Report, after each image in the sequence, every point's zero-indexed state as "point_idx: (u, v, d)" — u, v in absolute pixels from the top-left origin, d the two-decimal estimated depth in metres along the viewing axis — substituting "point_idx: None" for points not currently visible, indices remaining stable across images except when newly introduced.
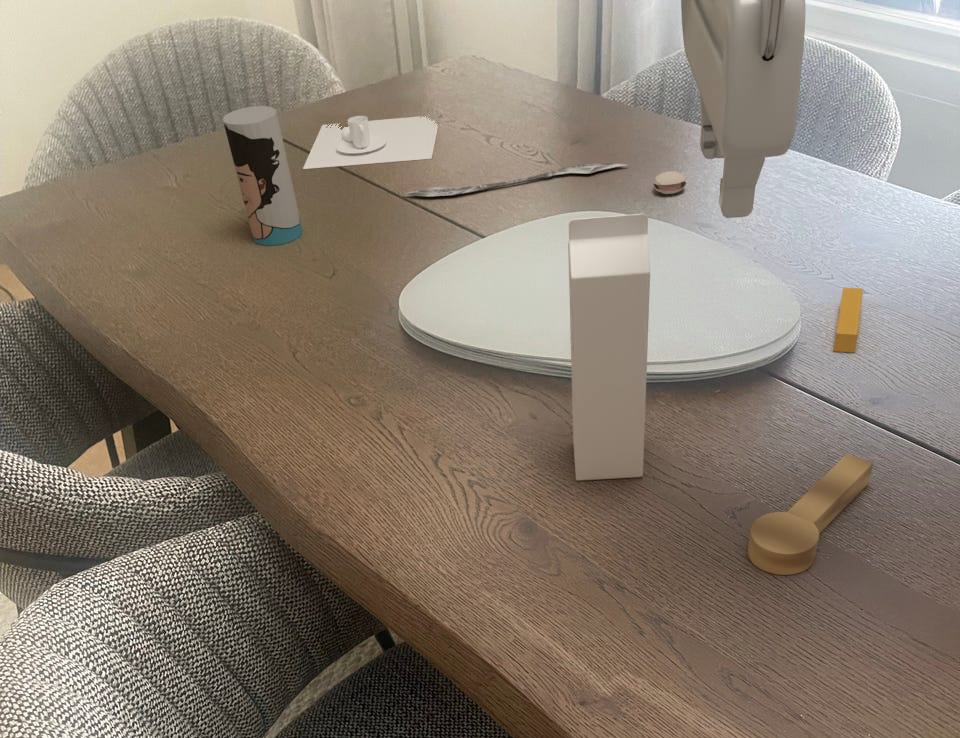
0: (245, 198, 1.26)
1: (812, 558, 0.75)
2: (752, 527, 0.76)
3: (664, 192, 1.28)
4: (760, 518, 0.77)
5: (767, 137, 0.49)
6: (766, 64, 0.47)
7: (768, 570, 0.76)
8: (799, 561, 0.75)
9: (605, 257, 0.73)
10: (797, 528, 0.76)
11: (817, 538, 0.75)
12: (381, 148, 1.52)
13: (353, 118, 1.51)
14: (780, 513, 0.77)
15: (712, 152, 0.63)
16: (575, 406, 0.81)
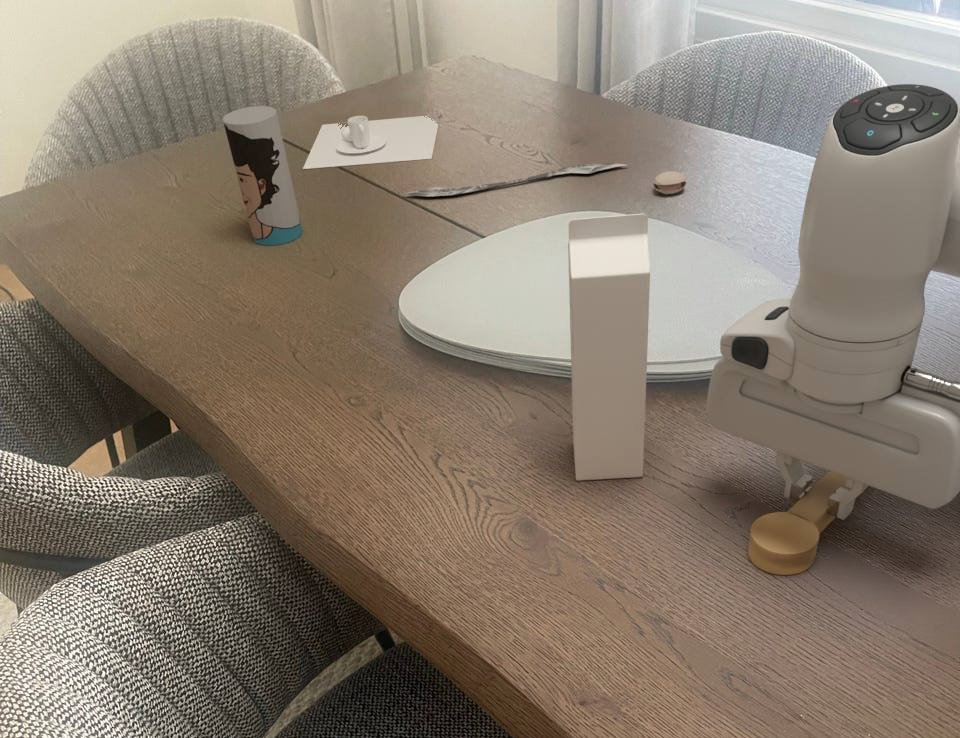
0: (245, 198, 1.26)
1: (812, 558, 0.75)
2: (752, 527, 0.76)
3: (664, 192, 1.28)
4: (760, 518, 0.77)
5: None
6: None
7: (768, 570, 0.76)
8: (799, 561, 0.75)
9: (605, 257, 0.73)
10: (797, 528, 0.76)
11: (817, 538, 0.75)
12: (381, 148, 1.52)
13: (353, 118, 1.51)
14: (780, 513, 0.77)
15: None
16: (575, 406, 0.81)
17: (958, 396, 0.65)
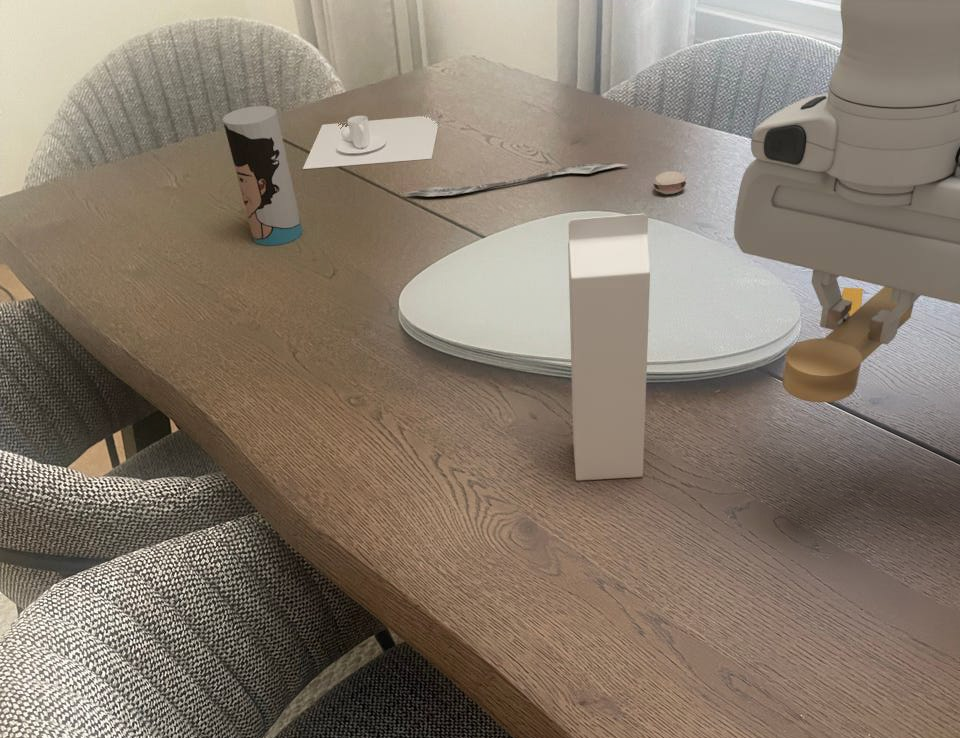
0: (245, 198, 1.26)
1: (854, 383, 0.69)
2: (787, 353, 0.70)
3: (664, 192, 1.28)
4: (796, 345, 0.71)
5: None
6: None
7: (806, 398, 0.69)
8: (841, 385, 0.68)
9: (605, 257, 0.73)
10: (837, 352, 0.69)
11: (860, 360, 0.68)
12: (381, 148, 1.52)
13: (353, 118, 1.51)
14: (817, 340, 0.71)
15: None
16: (575, 406, 0.81)
17: None
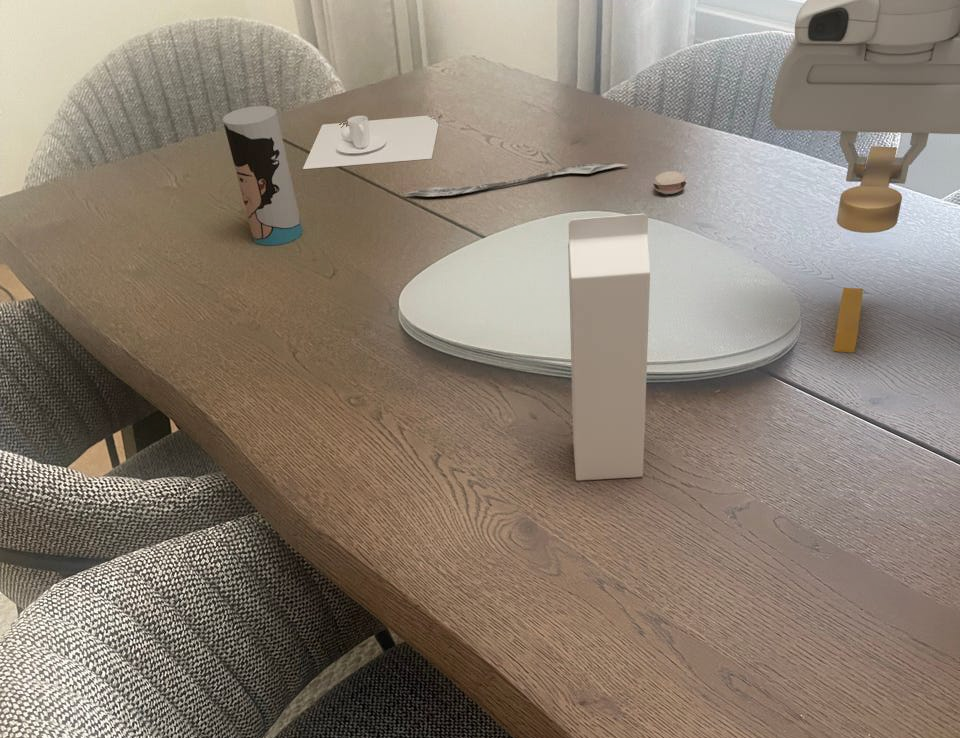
0: (245, 198, 1.26)
1: (898, 213, 0.87)
2: (843, 199, 0.86)
3: (664, 192, 1.28)
4: (843, 193, 0.87)
5: None
6: None
7: (868, 230, 0.86)
8: (894, 214, 0.85)
9: (605, 257, 0.73)
10: (878, 192, 0.87)
11: (900, 194, 0.86)
12: (381, 148, 1.52)
13: (353, 118, 1.51)
14: (856, 187, 0.88)
15: None
16: (575, 406, 0.81)
17: None
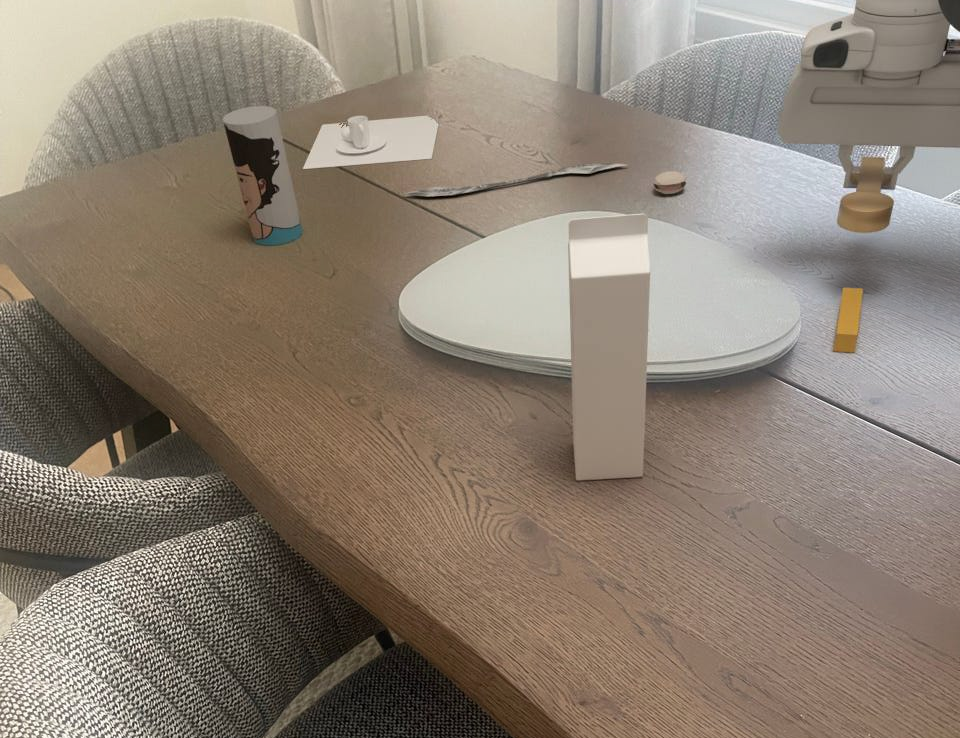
0: (245, 198, 1.26)
1: (890, 216, 1.00)
2: (843, 203, 0.99)
3: (664, 192, 1.28)
4: (843, 198, 1.00)
5: None
6: None
7: (865, 230, 0.99)
8: (887, 216, 0.98)
9: (605, 257, 0.73)
10: (873, 197, 1.00)
11: None
12: (381, 148, 1.52)
13: (353, 118, 1.51)
14: (853, 193, 1.01)
15: None
16: (575, 406, 0.81)
17: None
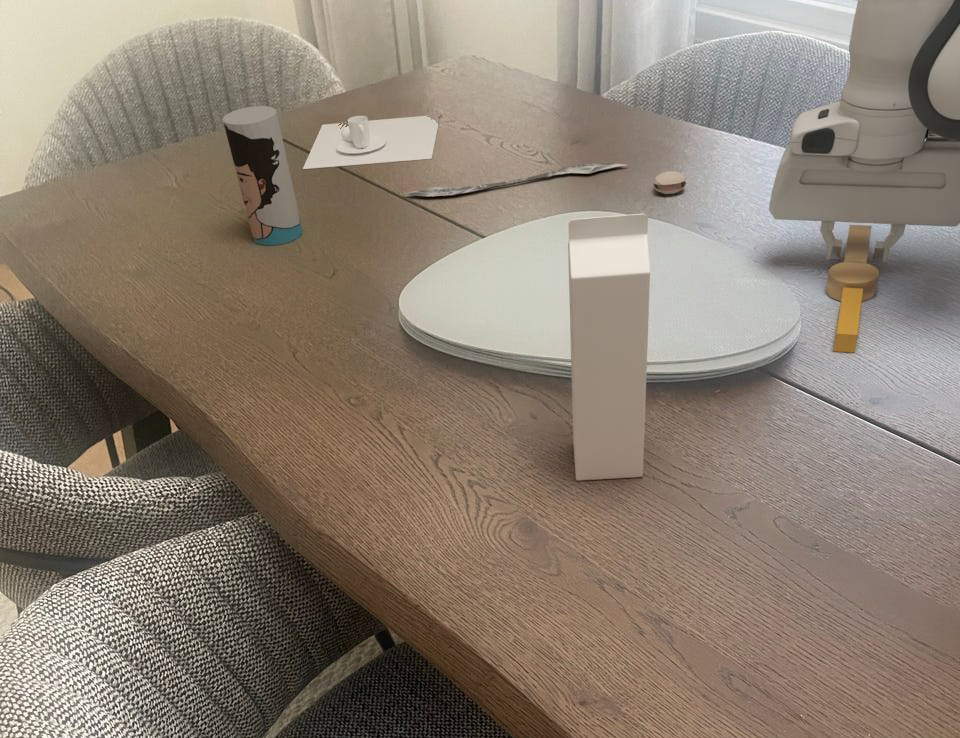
0: (245, 198, 1.26)
1: (876, 285, 1.05)
2: (831, 274, 1.05)
3: (664, 192, 1.28)
4: (831, 269, 1.05)
5: None
6: None
7: None
8: (873, 287, 1.04)
9: (605, 257, 0.73)
10: (859, 268, 1.05)
11: (877, 269, 1.04)
12: (381, 148, 1.52)
13: (353, 118, 1.51)
14: (841, 263, 1.06)
15: None
16: (575, 406, 0.81)
17: None
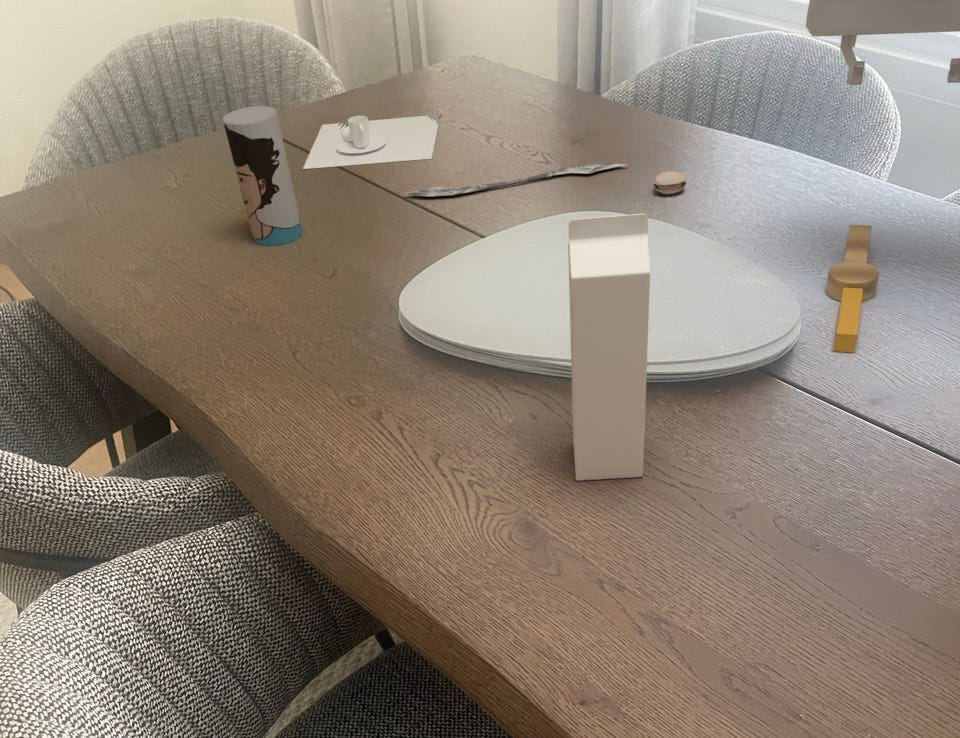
0: (245, 198, 1.26)
1: (876, 285, 1.05)
2: (831, 274, 1.05)
3: (664, 192, 1.28)
4: (831, 269, 1.05)
5: None
6: None
7: None
8: (873, 287, 1.04)
9: (605, 257, 0.73)
10: (859, 268, 1.05)
11: (877, 269, 1.04)
12: (381, 148, 1.52)
13: (353, 118, 1.51)
14: (841, 263, 1.06)
15: None
16: (575, 406, 0.81)
17: None
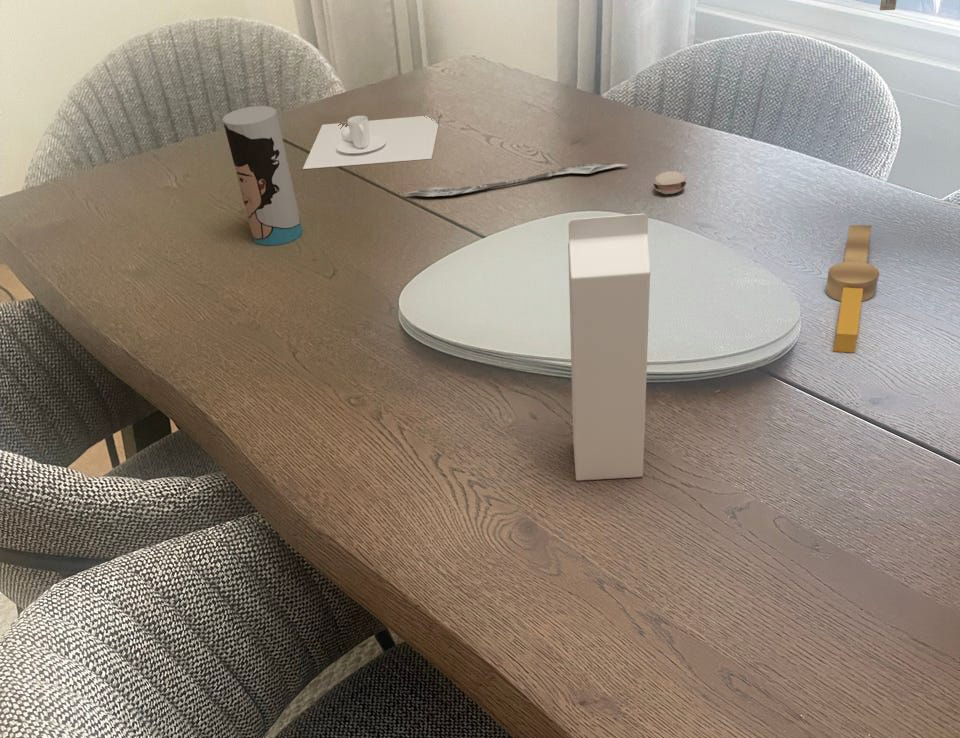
0: (245, 198, 1.26)
1: (876, 285, 1.05)
2: (831, 274, 1.05)
3: (664, 192, 1.28)
4: (831, 269, 1.05)
5: None
6: None
7: None
8: (873, 287, 1.04)
9: (605, 257, 0.73)
10: (859, 268, 1.05)
11: (877, 269, 1.04)
12: (381, 148, 1.52)
13: (353, 118, 1.51)
14: (841, 263, 1.06)
15: None
16: (575, 406, 0.81)
17: None
